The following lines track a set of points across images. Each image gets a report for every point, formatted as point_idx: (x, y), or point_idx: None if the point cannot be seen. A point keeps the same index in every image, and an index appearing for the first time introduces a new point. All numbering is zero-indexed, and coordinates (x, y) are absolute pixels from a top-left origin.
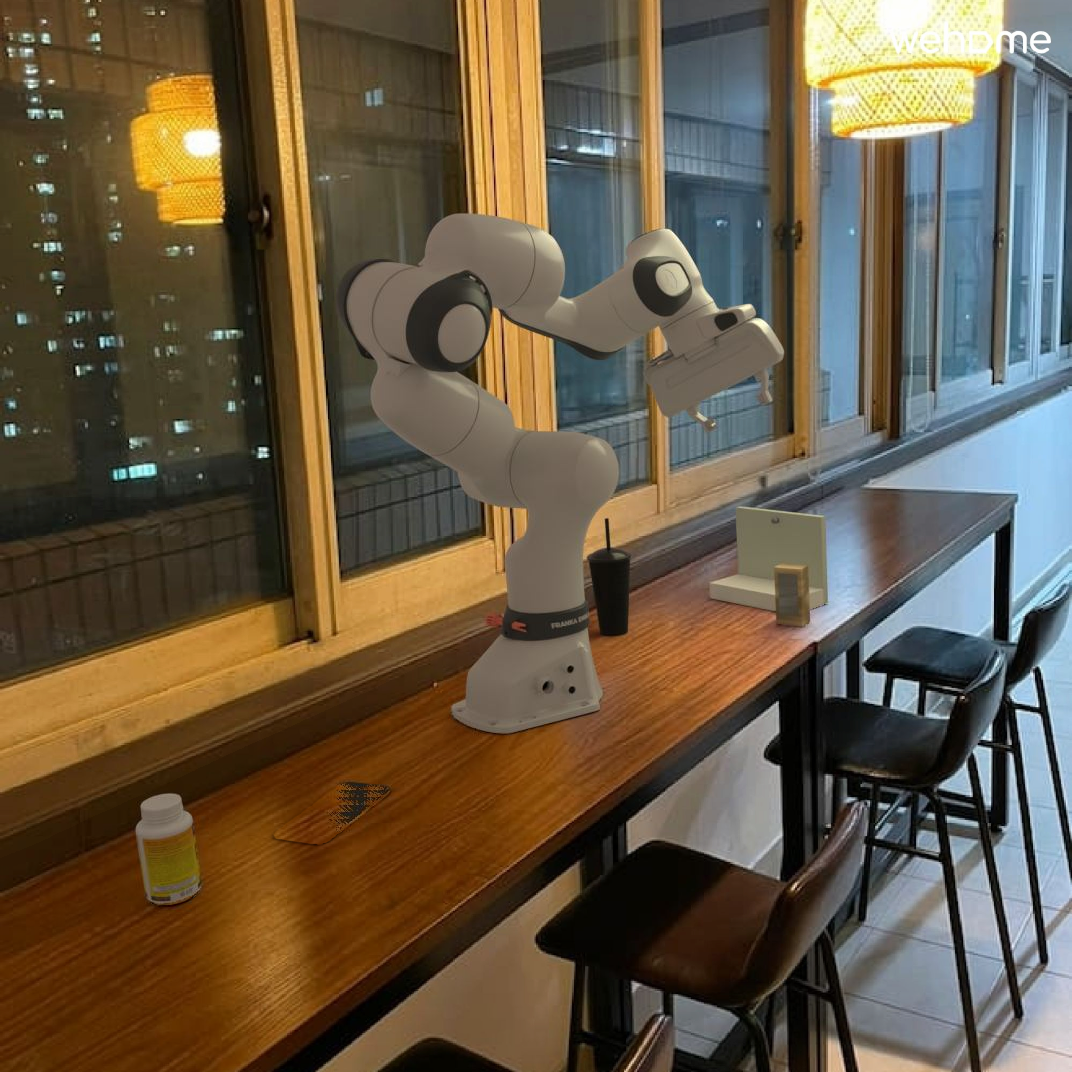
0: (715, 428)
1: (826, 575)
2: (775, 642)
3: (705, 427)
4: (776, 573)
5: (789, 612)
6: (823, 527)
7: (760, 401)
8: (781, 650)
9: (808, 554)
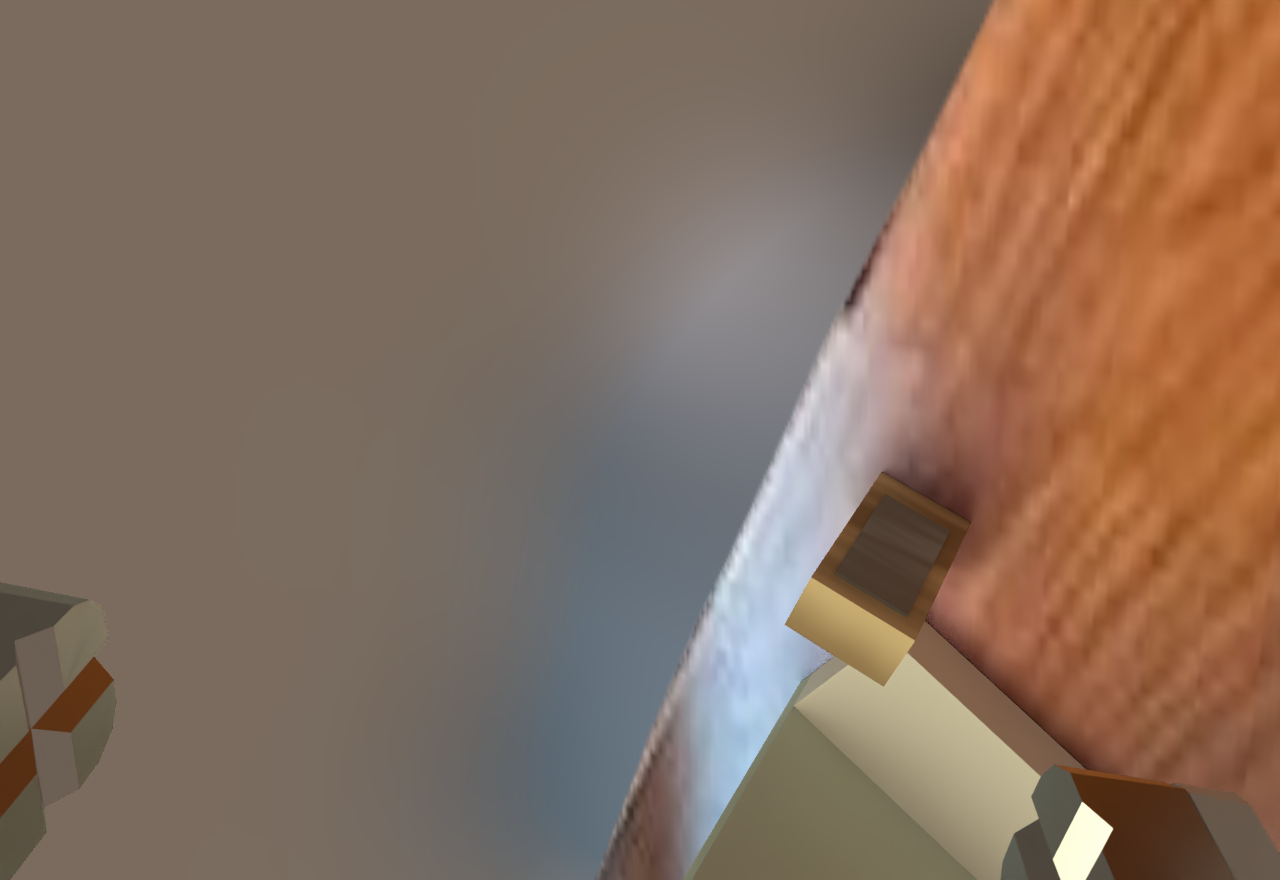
0: (1034, 825)
1: (766, 740)
2: (983, 317)
3: (1237, 857)
4: (913, 621)
5: (910, 515)
6: (699, 859)
7: (17, 630)
8: (965, 218)
9: (795, 823)
